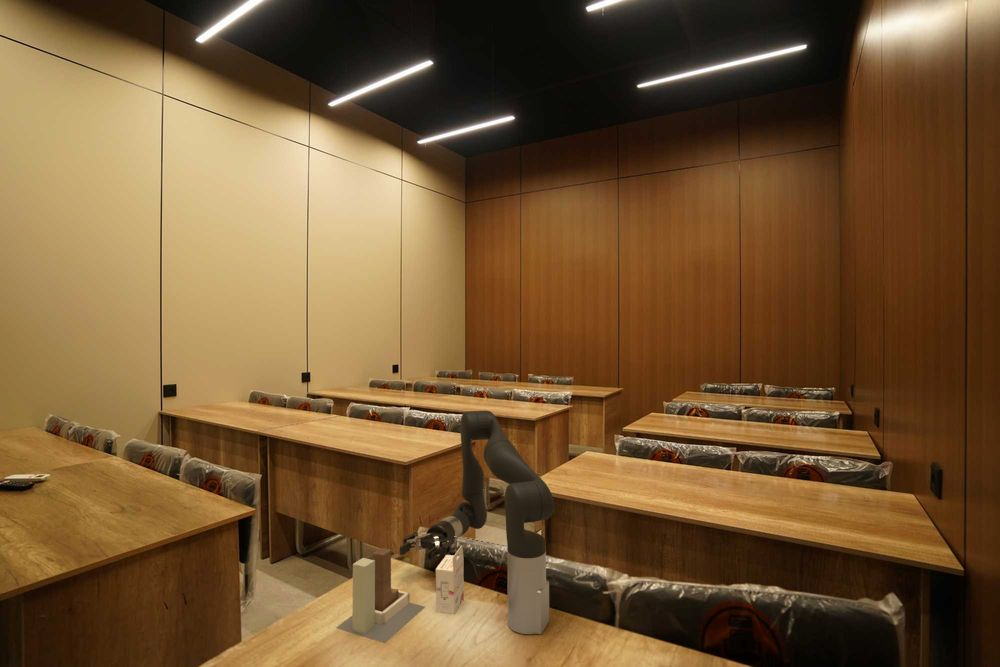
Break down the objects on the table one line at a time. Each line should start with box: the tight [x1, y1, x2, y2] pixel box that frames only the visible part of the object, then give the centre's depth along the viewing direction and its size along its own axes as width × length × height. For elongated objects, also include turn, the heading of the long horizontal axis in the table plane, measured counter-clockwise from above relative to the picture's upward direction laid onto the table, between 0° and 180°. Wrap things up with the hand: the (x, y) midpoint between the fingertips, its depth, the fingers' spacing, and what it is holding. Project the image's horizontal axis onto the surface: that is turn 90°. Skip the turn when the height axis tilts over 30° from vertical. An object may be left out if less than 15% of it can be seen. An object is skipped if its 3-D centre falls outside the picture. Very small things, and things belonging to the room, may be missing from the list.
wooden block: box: [372, 547, 399, 612], centre depth 118 cm, size 7×3×15 cm, turn 160°
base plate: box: [335, 589, 426, 644], centre depth 114 cm, size 14×16×4 cm
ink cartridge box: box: [435, 544, 465, 615], centre depth 120 cm, size 9×5×15 cm, turn 168°
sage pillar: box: [352, 557, 375, 634], centre depth 110 cm, size 4×4×15 cm
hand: (413, 554), depth 128 cm, fingers open, 8 cm apart
